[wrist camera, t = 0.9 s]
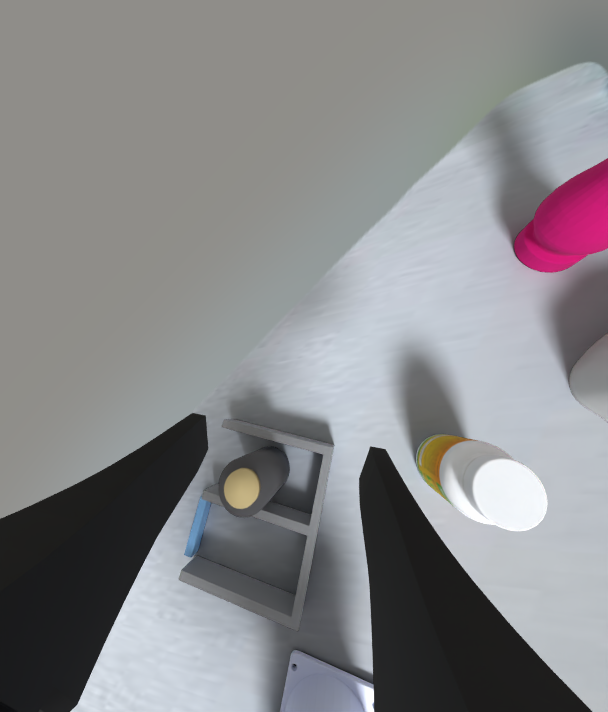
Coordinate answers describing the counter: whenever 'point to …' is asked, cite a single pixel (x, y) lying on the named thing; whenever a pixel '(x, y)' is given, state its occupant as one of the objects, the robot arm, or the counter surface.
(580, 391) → the lumpy-topped squat cylinder
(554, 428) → the counter surface
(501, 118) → the counter surface
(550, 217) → the pepper mill
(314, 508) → the grey divided frame
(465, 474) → the supplement bottle
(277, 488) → the plug
